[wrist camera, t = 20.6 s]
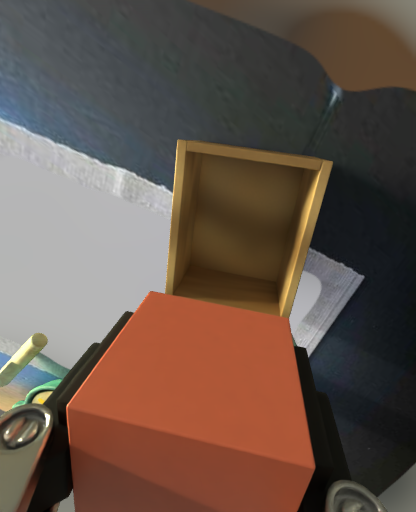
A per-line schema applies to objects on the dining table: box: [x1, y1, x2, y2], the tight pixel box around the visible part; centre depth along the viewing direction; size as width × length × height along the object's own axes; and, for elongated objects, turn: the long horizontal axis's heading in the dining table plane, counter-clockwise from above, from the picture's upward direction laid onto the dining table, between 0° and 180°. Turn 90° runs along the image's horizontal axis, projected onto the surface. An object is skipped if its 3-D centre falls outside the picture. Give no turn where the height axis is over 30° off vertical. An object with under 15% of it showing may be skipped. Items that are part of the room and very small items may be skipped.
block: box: [66, 291, 315, 512], centre depth 8 cm, size 5×5×5 cm
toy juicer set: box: [0, 333, 63, 409], centre depth 45 cm, size 29×18×8 cm, turn 66°
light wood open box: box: [165, 140, 333, 319], centre depth 30 cm, size 16×13×9 cm
